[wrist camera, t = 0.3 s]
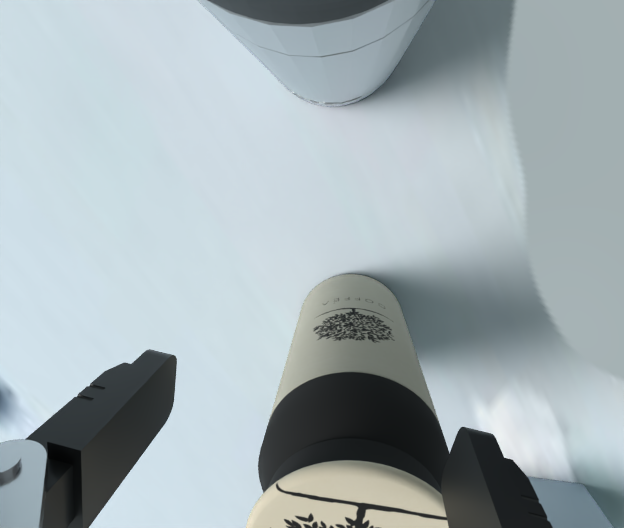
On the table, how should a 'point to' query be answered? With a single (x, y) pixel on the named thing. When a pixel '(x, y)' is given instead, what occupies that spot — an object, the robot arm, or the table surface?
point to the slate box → (568, 504)
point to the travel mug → (351, 420)
